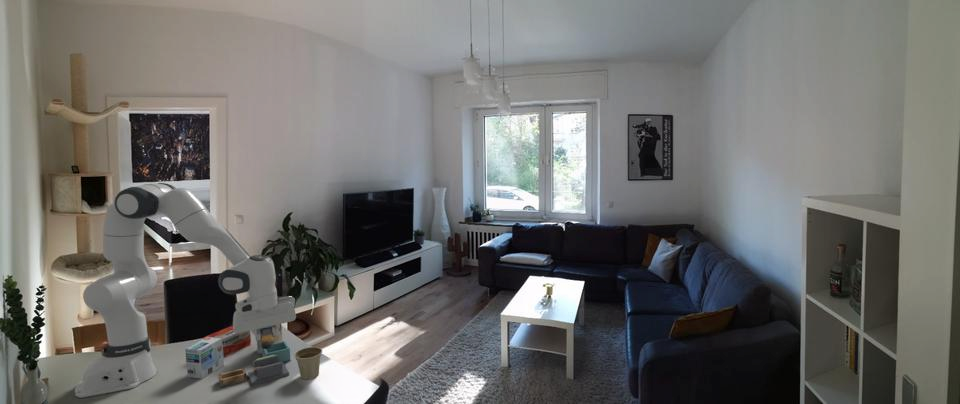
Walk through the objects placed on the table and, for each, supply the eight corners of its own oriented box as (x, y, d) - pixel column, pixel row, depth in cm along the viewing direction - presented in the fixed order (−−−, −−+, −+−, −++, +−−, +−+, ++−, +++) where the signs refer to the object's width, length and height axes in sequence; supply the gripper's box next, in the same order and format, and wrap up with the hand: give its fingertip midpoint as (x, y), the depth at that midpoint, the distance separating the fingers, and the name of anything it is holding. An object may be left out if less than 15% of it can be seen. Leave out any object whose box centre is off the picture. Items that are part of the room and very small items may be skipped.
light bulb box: (202, 379, 161) (200, 350, 160) (186, 377, 162) (183, 348, 161) (225, 365, 171) (222, 337, 170) (209, 363, 173) (207, 336, 171)
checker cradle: (252, 385, 156) (251, 370, 156) (248, 374, 164) (247, 360, 163) (289, 375, 163) (288, 360, 163) (283, 365, 170) (282, 351, 170)
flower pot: (290, 375, 163) (289, 352, 162) (315, 366, 170) (314, 344, 169) (303, 384, 156) (301, 361, 155) (328, 374, 163) (327, 352, 162)
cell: (260, 346, 162) (258, 325, 162) (272, 343, 165) (270, 323, 164) (262, 350, 159) (260, 329, 158) (274, 346, 162) (273, 326, 161)
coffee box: (268, 343, 189) (265, 306, 187) (283, 343, 189) (280, 306, 187) (257, 353, 180) (254, 315, 178) (272, 353, 180) (270, 315, 178)
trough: (220, 387, 155) (220, 380, 155) (219, 381, 159) (218, 374, 159) (246, 380, 160) (246, 373, 159) (244, 374, 164) (244, 368, 163)
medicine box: (217, 360, 175) (215, 340, 174) (203, 356, 179) (202, 337, 178) (251, 345, 189) (250, 326, 188) (238, 341, 192) (237, 323, 191)
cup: (267, 366, 169) (266, 354, 169) (263, 358, 176) (262, 346, 175) (290, 360, 174) (289, 348, 174) (285, 352, 181) (284, 341, 180)
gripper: (292, 292, 169) (295, 328, 170) (230, 304, 157) (233, 342, 158) (296, 297, 163) (299, 333, 165) (232, 309, 152) (236, 349, 153)
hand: (266, 338), depth 162 cm, fingers closed on cell, 4 cm apart
